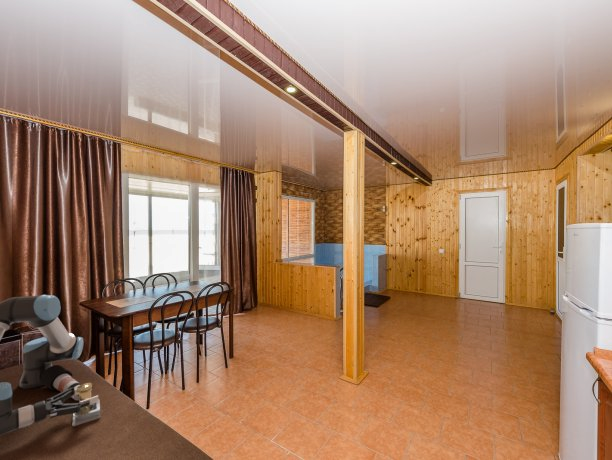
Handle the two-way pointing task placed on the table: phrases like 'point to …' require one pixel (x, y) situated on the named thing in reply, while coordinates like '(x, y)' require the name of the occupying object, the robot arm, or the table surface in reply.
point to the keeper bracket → (87, 415)
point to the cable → (59, 379)
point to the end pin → (85, 396)
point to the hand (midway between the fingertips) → (94, 392)
